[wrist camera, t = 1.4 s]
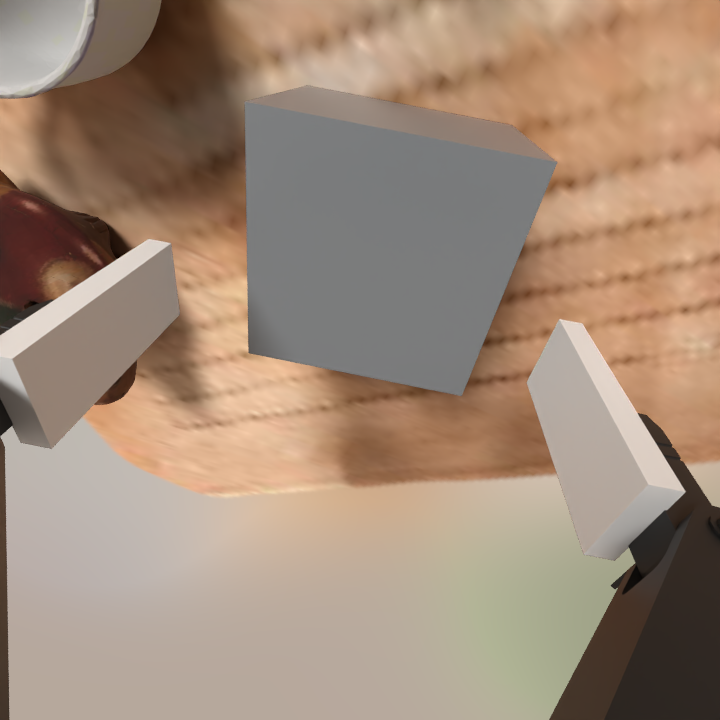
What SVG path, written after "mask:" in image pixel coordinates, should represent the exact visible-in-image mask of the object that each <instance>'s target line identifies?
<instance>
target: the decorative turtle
mask: <svg viewBox="0 0 720 720" xmlns="http://www.w3.org/2000/svg"><path fill="white" fill-rule="evenodd" d="M115 260H117V259H116V257H115V256H114V254H113V253H112V251H111V248H110V234H109V230H108V229H107V225H106V224H105V222H103V221H101V220H100V219H99V218H98V217H93V216H90V215H88V214H84V213H79V212H74V211H67V210H65V209H62V208H60V207H58V206H56V205H54V204H51V203H49V202H47V201H45V200H43V199H40V198H38V197H36V196H33V195H31V194H28V193H25V192H23V191H20V190H19V189H18V188H17V187H16V185H15V184H14V183H13V182H12V181H11V180H10V179H9V178H8V177H7V176H6V175H5V174H4V173H3V172H2V171H1V170H0V325H1V324H3V323H5V322H6V321H8V320H9V319H14V316H16V315H17V314H19V313H21V312H22V311H24V310H25V309H27V308H29V307H30V306H33V305H36V304H39V303H42V302H45V301H48V300H50V299H53V300H55V299H57V298H58V297H60V296H62V295H63V294H65V293H66V292H68V291H69V290H71V289H72V288H74V287H75V286H77V285H78V284H80V283H81V282H83V281H85V280H86V279H88V278H89V277H91V276H92V275H94V274H95V273H97V272H98V271H100V270H101V269H103V268H105V267H106V266H108V265H109V264H111V263H112V262H114V261H115ZM136 366H137V360H136V361H135V362H134V363H133V364H132V365H131V366H130V367H129V368H128V369H127V370H126V371H125V372H124V373H123V374H122V376H121V377H120V378H119V379H118V380H117V381H116V382H115V383H114V384H113V385H112V386H111V387H110V388H109V389H108V390H107V391H106V392H105V393H104V394H103V395H102V396H101V398H100V399H99V400H98V401H97V402H96V403H95V405H104V404H109V403H113V402H115V401H117V400H119V399H121V398H122V397H124V395H125V394H126V393H127V392H128V391H129V389H130V387H131V386H132V385H133V383H134V381H135V375H136Z"/></svg>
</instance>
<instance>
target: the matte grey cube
mask: <svg viewBox="0 0 720 720" xmlns="http://www.w3.org/2000/svg"><path fill="white" fill-rule="evenodd" d="M245 151H246V216H247V281H248V347H249V353H251V354H256V355H261V356H266V357H271V358H276V359H281V360H285V361H290V362H295V363H300V364H305V365H310V366H315V367H320V368H325V369H330V370H335V371H340V372H345V373H350V374H355V375H360V376H365V377H370V378H375V379H380V380H385V381H389V382H394V383H399V384H404V385H409V386H414V387H419V388H424V389H429V390H434V391H439V392H444V393H449V394H454V395H459V396H462V394H463V391H464V389H465V387H466V384H467V382H468V379H469V377H470V374H471V372H472V369H473V367H474V365H475V362H476V360H477V357H478V355H479V352H480V350H481V347H482V345H483V343H484V340H485V338H486V335H487V333H488V330H489V328H490V325H491V323H492V321H493V318H494V316H495V313H496V311H497V308H498V306H499V303H500V301H501V299H502V296H503V294H504V291H505V289H506V286H507V284H508V281H509V279H510V277H511V274H512V272H513V269H514V267H515V264H516V262H517V259H518V257H519V255H520V252H521V250H522V247H523V245H524V242H525V240H526V237H527V235H528V233H529V230H530V228H531V225H532V223H533V220H534V218H535V215H536V213H537V211H538V208H539V206H540V203H541V201H542V198H543V196H544V193H545V191H546V189H547V186H548V184H549V181H550V179H551V176H552V174H553V171H554V169H555V167H556V164H557V162H556V161H555V160H554V159H553V158H551V157H550V156H549V155H548V154H547V153H545V152H544V151H543V150H542V149H540V148H539V147H538V146H537V145H536V144H534V143H533V142H532V141H531V140H529V139H528V138H527V137H526V136H525V135H523V134H522V133H521V132H520V131H518V130H517V129H516V128H515V127H514V126H512V125H509V124H504V123H499V122H493V121H488V120H483V119H478V118H473V117H468V116H462V115H457V114H452V113H447V112H442V111H437V110H431V109H426V108H421V107H416V106H411V105H406V104H400V103H395V102H390V101H385V100H380V99H375V98H369V97H364V96H359V95H354V94H349V93H344V92H339V91H333V90H328V89H323V88H318V87H313V86H304V87H300V88H296V89H292V90H288V91H284V92H280V93H276V94H272V95H268V96H264V97H260V98H256V99H252V100H248V101H245Z"/></svg>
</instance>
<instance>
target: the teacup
mask: <svg viewBox="0 0 720 720" xmlns="http://www.w3.org/2000/svg"><path fill="white" fill-rule="evenodd" d="M160 6H161V0H0V98H13V99H15V98H28V97H33V96H36V95H39V94H41V93H44V92H47V91H49V90H51V89H53V88H59V87H64V86H69V85H75V84H78V83H82V82H86V81H90V80H93V79H96V78H99V77H102V76H105V75H108V74H110V73H112V72H114V71H116V70H118V69H120V68H121V67H123V66H124V65H126V64H127V63H129V62H130V61H131V60H132V59H133V58H134V57H135V56H136V55H137V54H138V53H139V52H140V51H141V49H142V48H143V47H144V45H145V43H146V42H147V40H148V39H149V37H150V35H151V33H152V31H153V29H154V26H155V24H156V21H157V17H158V14H159V11H160Z"/></svg>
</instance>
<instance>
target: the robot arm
mask: <svg viewBox="0 0 720 720" xmlns="http://www.w3.org/2000/svg"><path fill="white" fill-rule="evenodd" d="M179 315H180V310H179V302H178V294H177V286H176V278H175V270H174V262H173V254H172V246H171V243H167V242H162V241H157V240H152V239H148V240H146V241H145V242H143V243H141V244H140V245H138V246H137V247H135V248H134V249H132V250H131V251H129V252H128V253H126V254H125V255H123V256H121V257H120V258H118V259H117V260H115V261H114V262H112V263H111V264H109V265H108V266H106V267H105V268H103V269H101V270H100V271H98V272H97V273H95V274H94V275H92V276H91V277H89V278H88V279H86V280H85V281H83V282H81V283H80V284H78V285H77V286H75V287H74V288H72V289H71V290H69V291H68V292H66V293H65V294H63V295H62V296H60V297H58V298H57V299H55V300H53V299H50V300H48V301H45V302H42V303H39V304H36V305H33V306H30V307H29V308H27V309H25V310H24V311H22V312H21V313H19V314H17V315H16V316H14V319H9V320H8V321H6V322H5V323H3V324H1V325H0V436H1V435H2V434H3V433H4V432H6V431H7V430H8V429H9V428H10V427H11V426H13V428H14V430H15V432H16V434H17V436H18V438H19V440H20V442H21V443H25V444H30V445H35V446H40V447H45V448H50V449H52V448H53V447H54V445H56V443H57V442H58V441H59V440H60V439H61V438H62V437H63V436H64V435H65V434H66V433H67V432H68V431H69V430H70V429H71V428H72V427H73V426H74V425H75V424H76V423H77V422H78V421H79V420H80V418H81V417H82V416H83V415H84V414H85V413H86V412H87V411H88V410H89V409H90V408H91V407H92V406H93V405H94V404H95V403H96V402H97V401H98V400H99V399H100V398H101V396H102V395H103V394H104V393H105V392H106V391H107V390H108V389H109V388H110V387H111V386H112V385H113V384H114V383H115V382H116V381H117V380H118V379H119V378H120V377H121V376H122V374H123V373H124V372H125V371H126V370H127V369H128V368H129V367H130V366H131V365H132V364H133V363H134V362H135V361H136V360H137V359H138V358H139V357H140V356H141V355H142V354H143V352H144V351H145V350H146V349H147V348H148V347H149V346H150V345H151V344H152V343H153V342H154V341H155V340H156V339H157V338H158V337H159V336H160V335H161V334H162V333H163V332H164V330H165V329H166V328H167V327H168V326H169V325H170V324H171V323H172V322H173V321H174V320H175V319H176V318H177V317H178V316H179ZM527 385H528V388H529V391H530V394H531V397H532V400H533V403H534V406H535V409H536V412H537V415H538V418H539V421H540V424H541V427H542V430H543V433H544V436H545V439H546V442H547V445H548V448H549V451H550V454H551V457H552V460H553V463H554V466H555V470H556V473H557V476H558V479H559V481H560V485H561V487H562V491H563V493H564V497H565V500H566V503H567V506H568V509H569V512H570V515H571V518H572V521H573V524H574V527H575V530H576V533H577V536H578V539H579V542H580V545H581V548H582V551H583V554H584V555H589V556H594V557H599V558H604V559H609V560H614V561H615V560H616V559H617V558H618V557H619V556H620V555H621V554H622V553H623V552H624V551H625V550H626V549H627V548H628V547H629V548H630V551H631V553H632V555H633V558H634V560H635V562H636V563H635V564H634V565H633V566H632V567H630V569H628V570H627V571H626V572H625V573H624V574H623V575H622V576H621V577H619V579H617V580H616V581H615V582H614V583H613V584H612V585H611V586H612V587H613V588H614V589H616V588H618V589H617V591H616V593H615V595H614V597H613V599H612V601H611V603H610V604H609V606H608V608H607V610H606V612H605V614H604V616H603V618H602V620H601V622H600V624H599V626H598V627H597V630H596V631H595V633H594V635H593V637H592V639H591V641H590V643H589V645H588V647H587V649H586V650H585V652H584V654H583V656H582V658H581V660H580V662H579V664H578V666H577V668H576V670H575V671H574V673H573V675H572V677H571V679H570V681H569V683H568V685H567V687H566V689H565V691H564V692H563V694H562V696H561V698H560V700H559V702H558V704H557V706H556V708H555V710H554V712H553V714H552V715H551V718H550V719H549V720H720V508H719V507H715V506H712V505H711V503H710V502H709V501H708V499H707V497H706V496H705V494H704V493H703V492H702V490H701V488H700V487H699V485H698V484H697V482H696V481H695V479H694V478H693V476H692V475H691V473H690V472H689V470H688V468H687V467H686V465H685V464H684V462H683V461H680V456H679V455H678V453H677V452H676V450H675V449H674V448H672V444H671V442H670V441H669V439H668V438H667V436H666V435H665V433H664V432H663V430H662V429H661V428H660V427H659V426H658V425H656V424H655V423H654V422H653V421H652V420H651V419H650V418H649V417H648V416H647V415H644V414H639V413H637V412H636V410H635V409H634V407H633V405H632V404H631V402H630V400H629V399H628V397H627V396H626V394H625V392H624V391H623V389H622V387H621V386H620V384H619V383H618V381H617V379H616V378H615V376H614V374H613V373H612V371H611V370H610V368H609V366H608V365H607V363H606V361H605V360H604V358H603V357H602V355H601V353H600V352H599V350H598V348H597V347H596V345H595V344H594V342H593V340H592V339H591V337H590V335H589V334H588V332H587V331H586V329H585V327H584V326H583V324H582V323H577V322H571V321H566V320H561V319H559V321H558V323H557V325H556V327H555V329H554V331H553V333H552V334H551V336H550V338H549V340H548V342H547V344H546V346H545V348H544V350H543V352H542V354H541V356H540V358H539V360H538V362H537V363H536V365H535V367H534V369H533V371H532V373H531V375H530V377H529V379H528V381H527ZM6 556H7V552H6V494H5V447H4V444H3V442H2V440H1V438H0V720H9V678H8V677H9V676H8V675H9V673H8V617H7V615H8V612H7V557H6Z"/></svg>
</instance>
